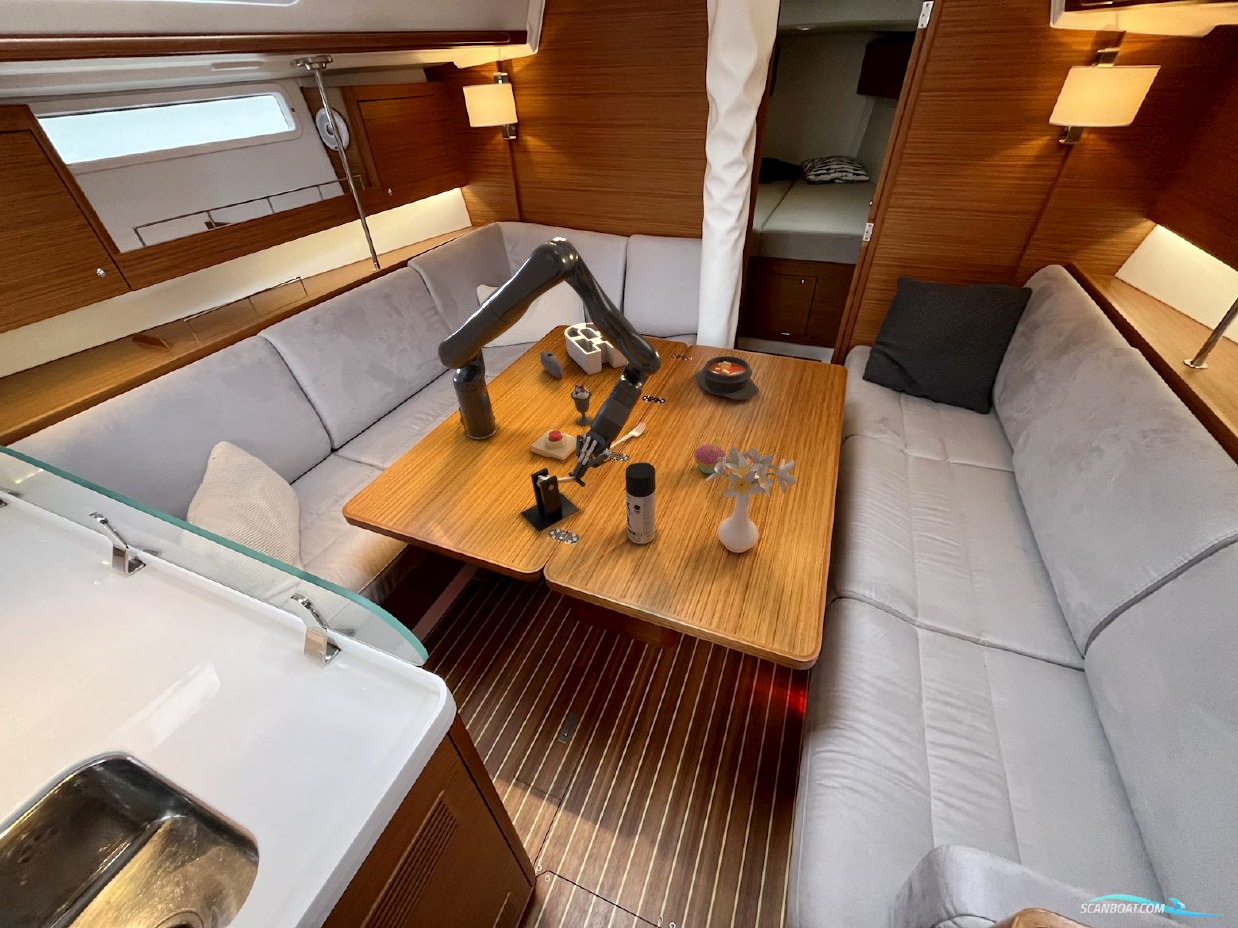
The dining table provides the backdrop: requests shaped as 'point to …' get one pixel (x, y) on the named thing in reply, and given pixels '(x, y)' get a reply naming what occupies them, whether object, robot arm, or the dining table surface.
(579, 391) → the sundae
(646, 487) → the spray can
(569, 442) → the button housing
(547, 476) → the lever
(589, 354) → the white compartment organizer
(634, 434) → the fork
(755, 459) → the flower vase
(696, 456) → the cupcake
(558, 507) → the bracket
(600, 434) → the robot arm
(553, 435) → the button
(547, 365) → the perforated stone tool
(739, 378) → the casserole
